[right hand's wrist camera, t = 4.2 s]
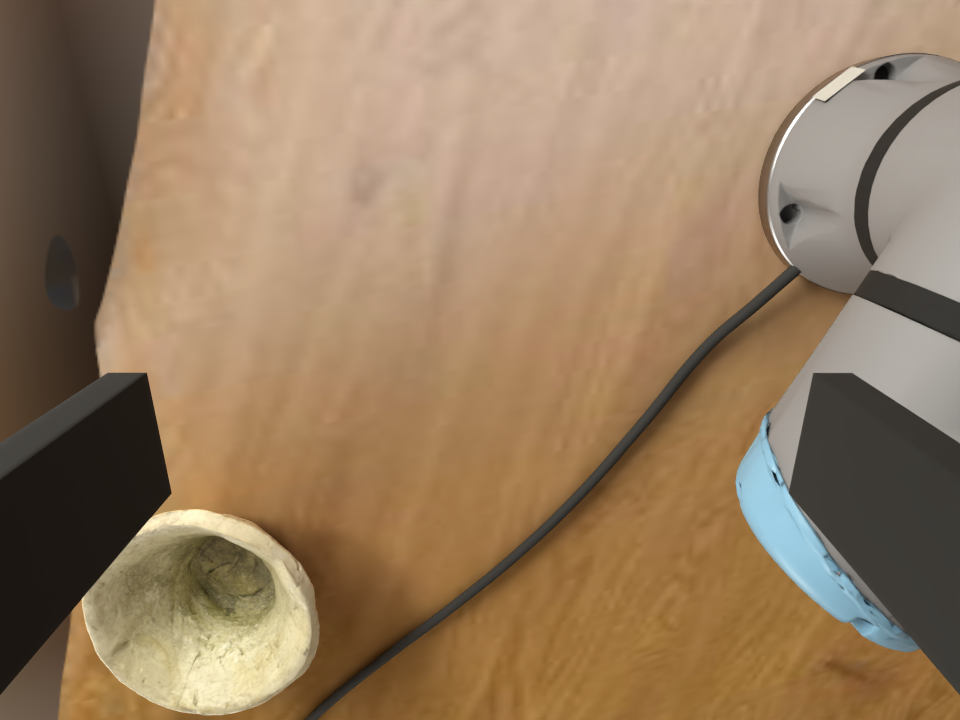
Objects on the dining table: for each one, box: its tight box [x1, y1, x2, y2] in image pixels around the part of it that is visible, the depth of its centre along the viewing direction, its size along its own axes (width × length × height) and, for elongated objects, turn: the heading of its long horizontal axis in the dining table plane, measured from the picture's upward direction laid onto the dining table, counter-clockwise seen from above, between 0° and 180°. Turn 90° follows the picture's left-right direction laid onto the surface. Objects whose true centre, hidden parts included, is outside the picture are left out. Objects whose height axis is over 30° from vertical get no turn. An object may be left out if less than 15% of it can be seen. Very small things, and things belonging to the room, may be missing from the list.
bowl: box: [82, 509, 320, 715], centre depth 47 cm, size 14×18×15 cm
